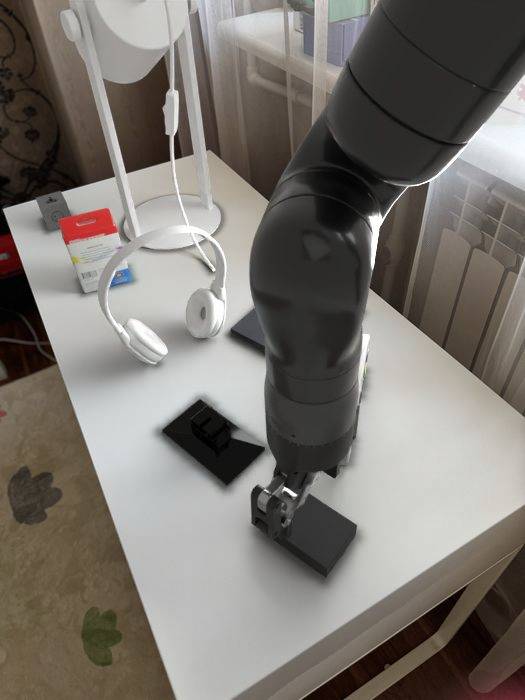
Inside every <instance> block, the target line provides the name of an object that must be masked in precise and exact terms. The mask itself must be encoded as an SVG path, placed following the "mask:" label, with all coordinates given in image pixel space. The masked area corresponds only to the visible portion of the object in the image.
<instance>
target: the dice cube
mask: <svg viewBox="0 0 525 700" xmlns="http://www.w3.org/2000/svg"><path fill="white" fill-rule="evenodd" d="M35 201H36V203H37V206H38V208H39V211H40V213H41V216H42V218H43V221H44V223H45V225H46V227H47V230H48V232H53V231H55V230H58V229H61V228H60V225H59V223H58V220H59V219H61V218H66V217H70V216H72V214H71V211H70V208H69V205H68V203H67V200H66V199H65V196H64V194H63V193H62V191H61V190H59V191H54V192H51V193H48V194H44V195H40V196H37V197H35Z"/></svg>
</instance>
